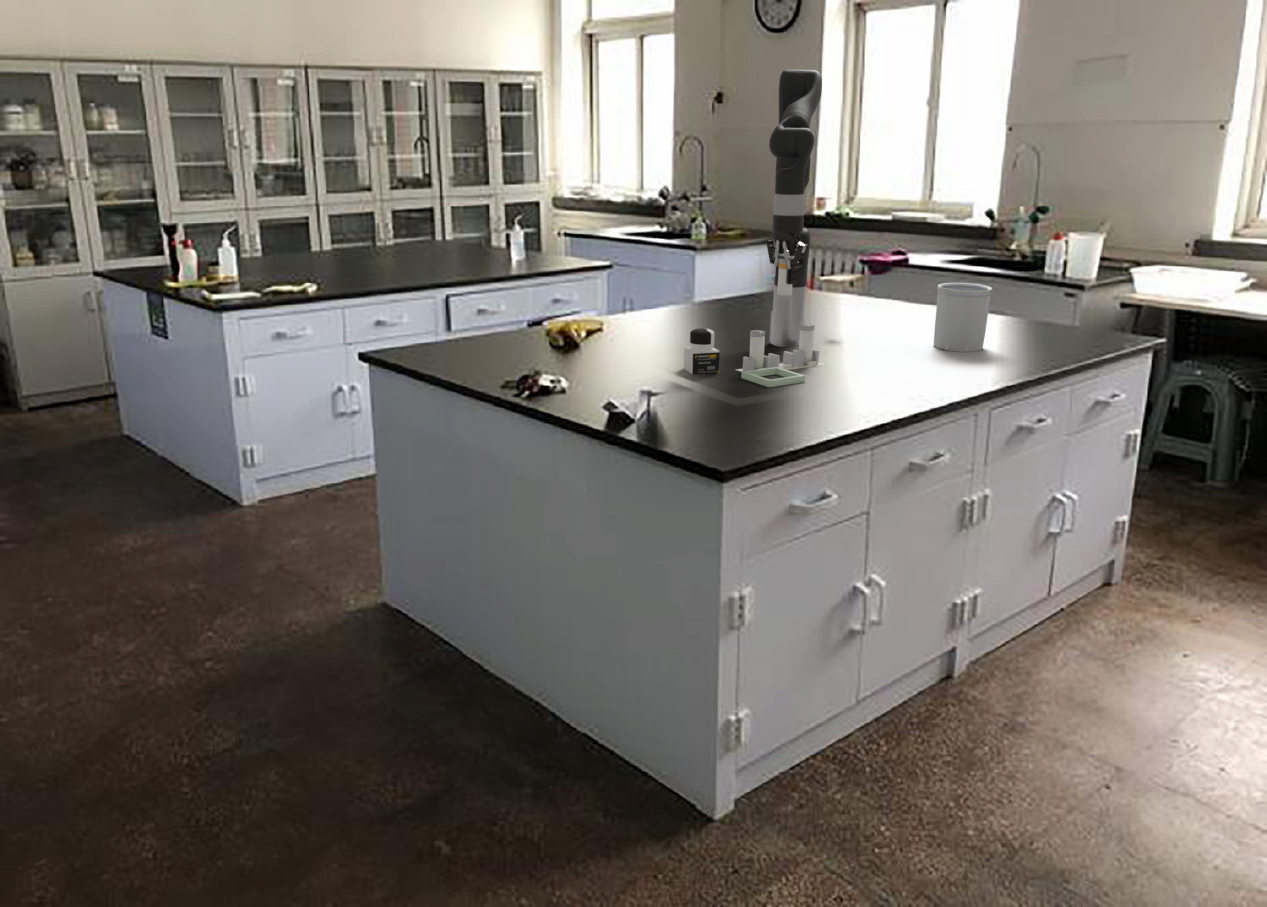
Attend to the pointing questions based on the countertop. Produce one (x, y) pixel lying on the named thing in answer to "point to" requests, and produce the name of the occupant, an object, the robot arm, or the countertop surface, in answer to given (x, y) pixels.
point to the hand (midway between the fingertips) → (785, 282)
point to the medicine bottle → (701, 353)
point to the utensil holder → (961, 316)
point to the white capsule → (806, 342)
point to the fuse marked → (783, 281)
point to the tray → (789, 379)
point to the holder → (789, 361)
